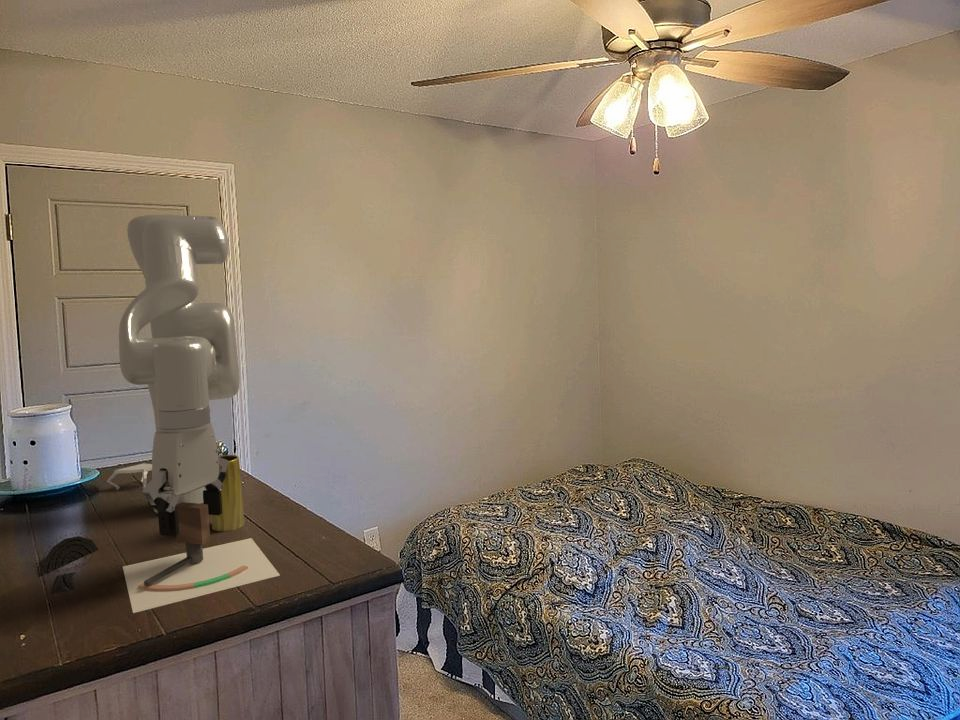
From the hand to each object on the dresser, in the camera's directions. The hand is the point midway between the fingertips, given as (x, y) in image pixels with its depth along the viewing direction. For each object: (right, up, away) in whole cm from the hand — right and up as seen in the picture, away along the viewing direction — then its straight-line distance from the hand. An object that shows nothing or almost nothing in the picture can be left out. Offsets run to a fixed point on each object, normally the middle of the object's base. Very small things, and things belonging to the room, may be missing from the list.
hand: (192, 524), depth 104 cm
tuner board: (+2, -8, -2) cm, 9 cm away
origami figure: (-33, -4, +47) cm, 58 cm away
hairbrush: (-19, -9, -1) cm, 21 cm away
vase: (-1, -6, +17) cm, 18 cm away
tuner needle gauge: (-1, -7, -3) cm, 7 cm away
